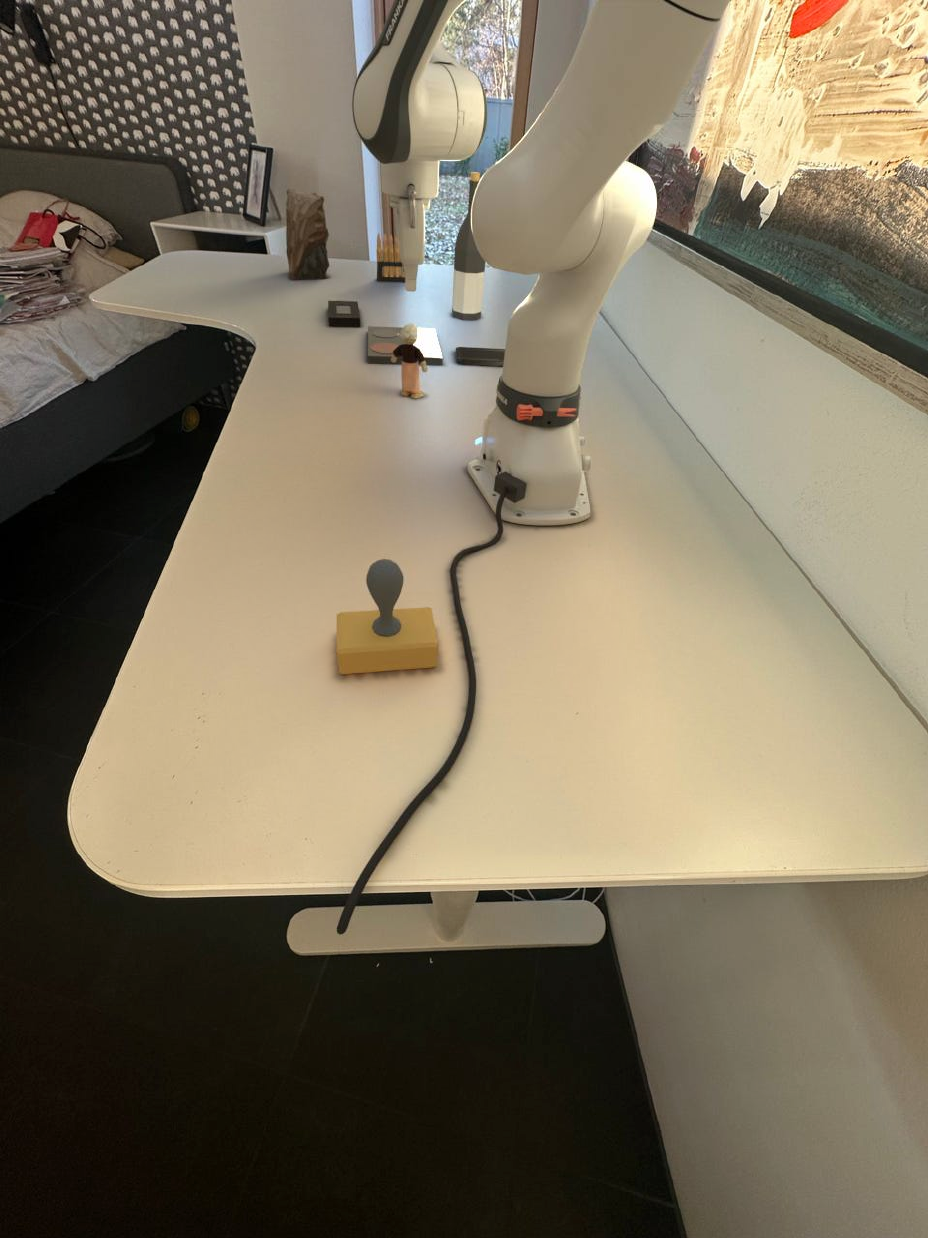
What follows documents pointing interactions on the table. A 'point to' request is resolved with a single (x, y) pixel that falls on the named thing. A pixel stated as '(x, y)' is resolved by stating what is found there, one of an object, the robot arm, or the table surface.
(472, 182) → the wine bottle
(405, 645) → the rubber stamp
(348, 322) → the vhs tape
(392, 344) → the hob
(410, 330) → the grandmother figurine
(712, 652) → the table surface
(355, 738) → the table surface
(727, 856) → the table surface
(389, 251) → the ammunition clip
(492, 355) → the phone
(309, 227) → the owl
